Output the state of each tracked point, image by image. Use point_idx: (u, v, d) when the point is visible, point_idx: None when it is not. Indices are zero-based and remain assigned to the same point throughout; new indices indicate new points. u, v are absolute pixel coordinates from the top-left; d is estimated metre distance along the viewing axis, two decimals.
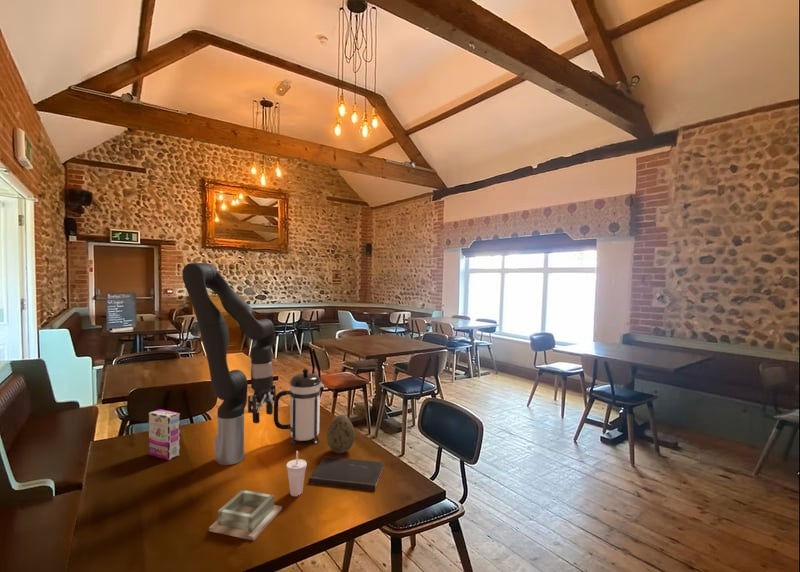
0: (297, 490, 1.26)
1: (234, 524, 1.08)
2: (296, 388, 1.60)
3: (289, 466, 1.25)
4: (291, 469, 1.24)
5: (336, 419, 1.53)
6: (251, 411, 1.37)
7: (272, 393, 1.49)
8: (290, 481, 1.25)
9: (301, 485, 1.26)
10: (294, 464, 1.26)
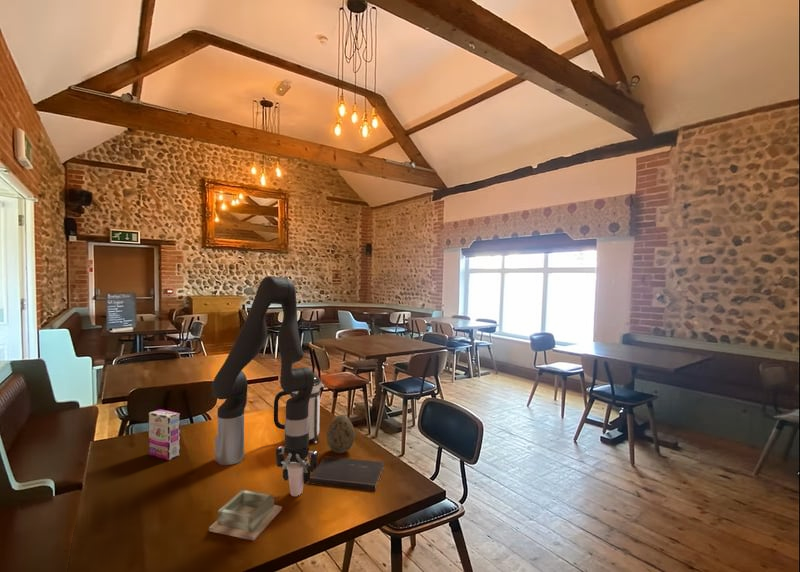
0: (297, 490, 1.26)
1: (234, 524, 1.08)
2: None
3: (289, 466, 1.25)
4: (291, 469, 1.24)
5: (336, 419, 1.53)
6: (314, 468, 1.26)
7: (282, 455, 1.29)
8: (290, 481, 1.25)
9: (301, 485, 1.26)
10: (294, 464, 1.26)
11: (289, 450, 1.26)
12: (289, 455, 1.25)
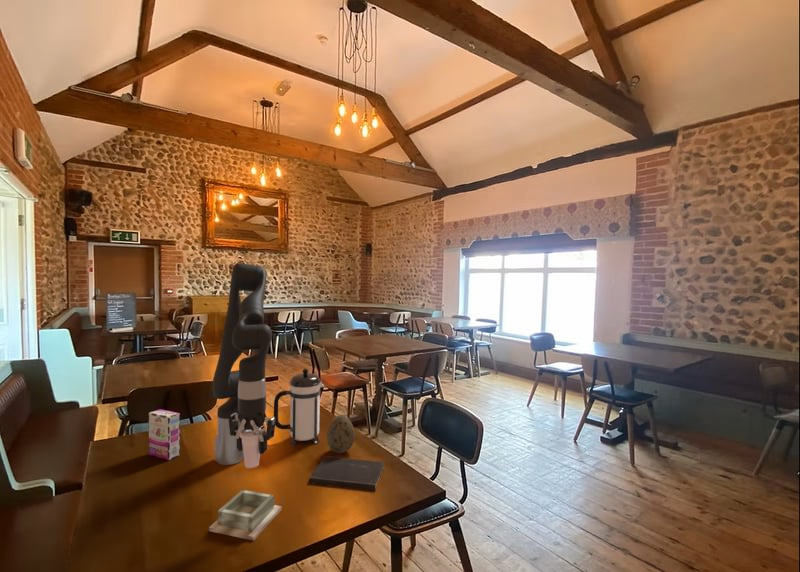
0: (252, 460, 1.12)
1: (234, 524, 1.08)
2: (296, 388, 1.60)
3: (243, 434, 1.12)
4: (245, 437, 1.10)
5: (336, 419, 1.53)
6: (271, 436, 1.12)
7: (236, 423, 1.15)
8: (244, 451, 1.12)
9: (257, 456, 1.13)
10: (249, 432, 1.12)
11: (243, 416, 1.12)
12: (243, 422, 1.11)
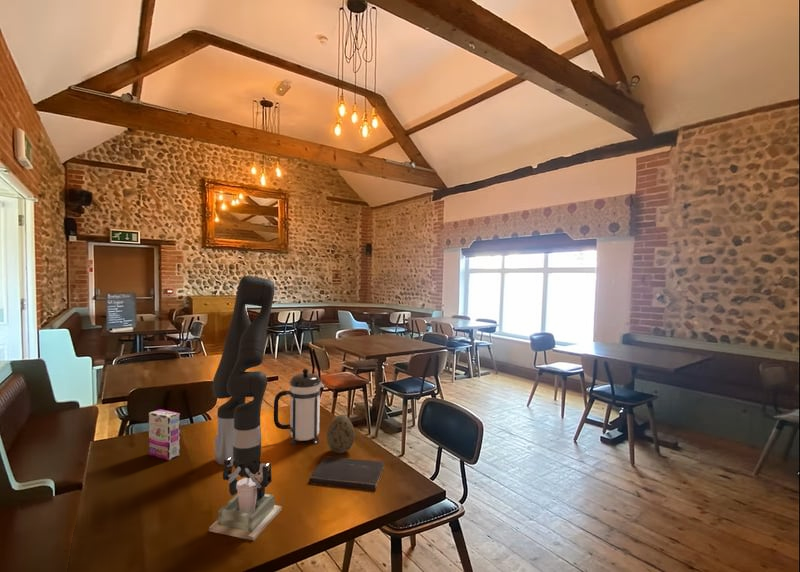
0: (248, 512, 1.12)
1: (234, 524, 1.08)
2: (296, 388, 1.60)
3: (239, 485, 1.12)
4: (241, 488, 1.11)
5: (336, 419, 1.53)
6: (269, 482, 1.11)
7: (230, 467, 1.15)
8: (240, 502, 1.12)
9: (252, 507, 1.13)
10: (245, 483, 1.13)
11: (238, 463, 1.12)
12: (238, 469, 1.11)
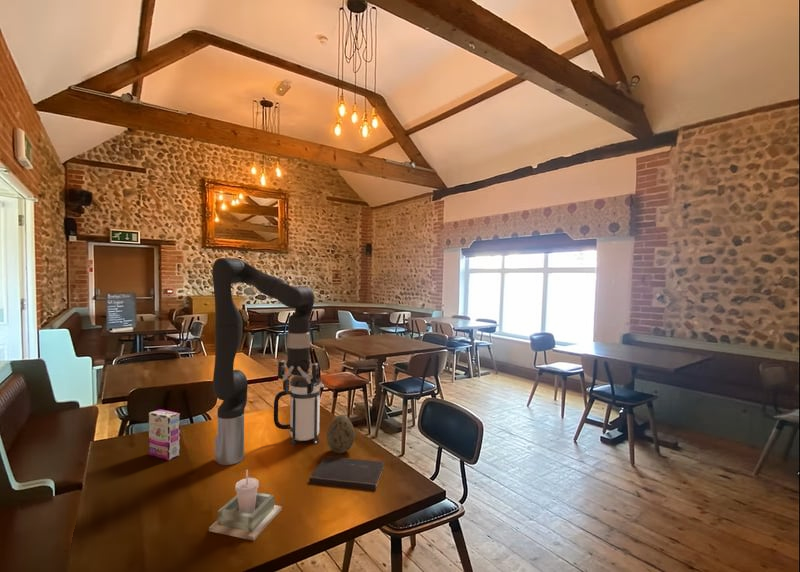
0: (247, 513, 1.12)
1: (234, 524, 1.08)
2: (296, 388, 1.60)
3: (238, 486, 1.12)
4: (239, 490, 1.10)
5: (336, 419, 1.53)
6: (317, 379, 1.33)
7: (283, 369, 1.36)
8: (239, 503, 1.12)
9: (252, 507, 1.12)
10: (244, 484, 1.12)
11: (291, 364, 1.34)
12: (291, 368, 1.33)
